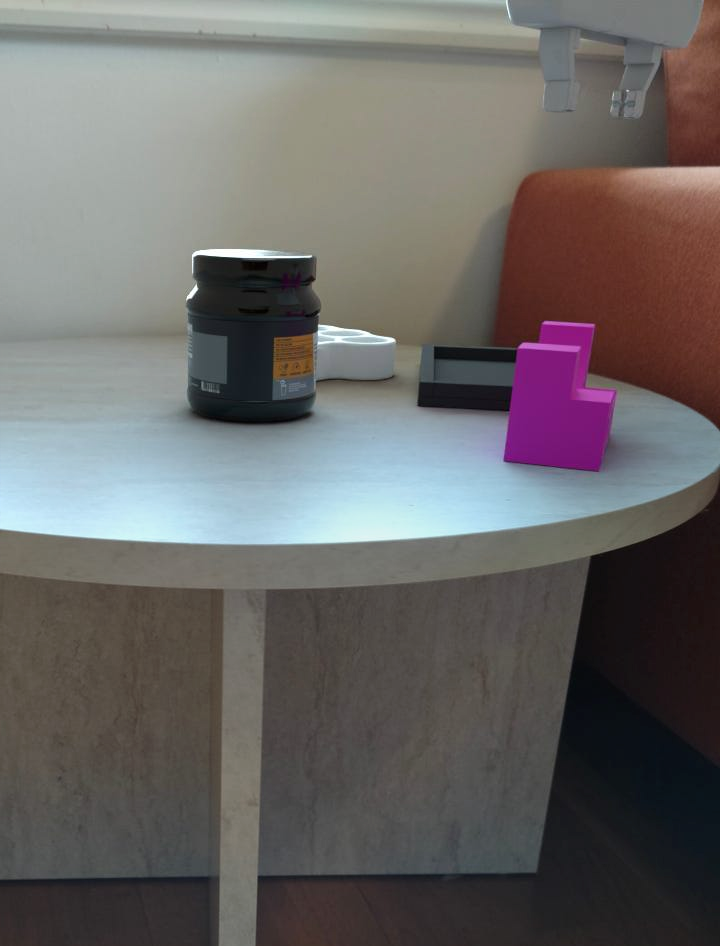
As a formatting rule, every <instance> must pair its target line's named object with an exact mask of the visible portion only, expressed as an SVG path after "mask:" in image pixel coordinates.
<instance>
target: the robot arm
mask: <svg viewBox="0 0 720 946" xmlns="http://www.w3.org/2000/svg"><path fill="white" fill-rule="evenodd" d="M505 2H506V7H507V12H508V17H509V20H510V23H511V24H512V25H514V26H517V27H522V28H527V29H532V30H538V31H540V32H539V41H538V50H537V51H538V56H539V61H540V67H541V70H542V75H543V80H544V88H543V89H544V90H543V98H542V109H543V110H544V111H545V112H549V113H572V112H574V111H576V109H577V107H578V106H579V95H580V91H581V85H582V82H581V81H578V80H576V67H575V51H574V50H579V48H580V43H581V39H583V40H588V41H592V42H593V41H594V42H598V43H602V44H608V45H614V46H618V47H624V54H623V62H622V63H623V65H625V70H624V73H623V75H622V79H621V82H620V85H619V88H618V90H613V91H612V97H611V107H610V112H609V113H610V114H609V115H610V116H611V118H613V119H618V120H637V119H639V118H641V116H642V115H643V113H644V107H645V101H646V94H647V91H648V90H649V87H650V86H651V83H652V81H653V79H654V77H655V75H656V73H657V71H658V69H659V67H660V65H661V57H662V53H663V51H673V50H683V49H686V48H687V47H688V45H690V42H691V41H692V39H693V36H694V35H695V33H696V32H697V29H698V26H699V23H700V19H701V16H702V12H703V6H704V2H705V0H506V1H505Z"/></svg>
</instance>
